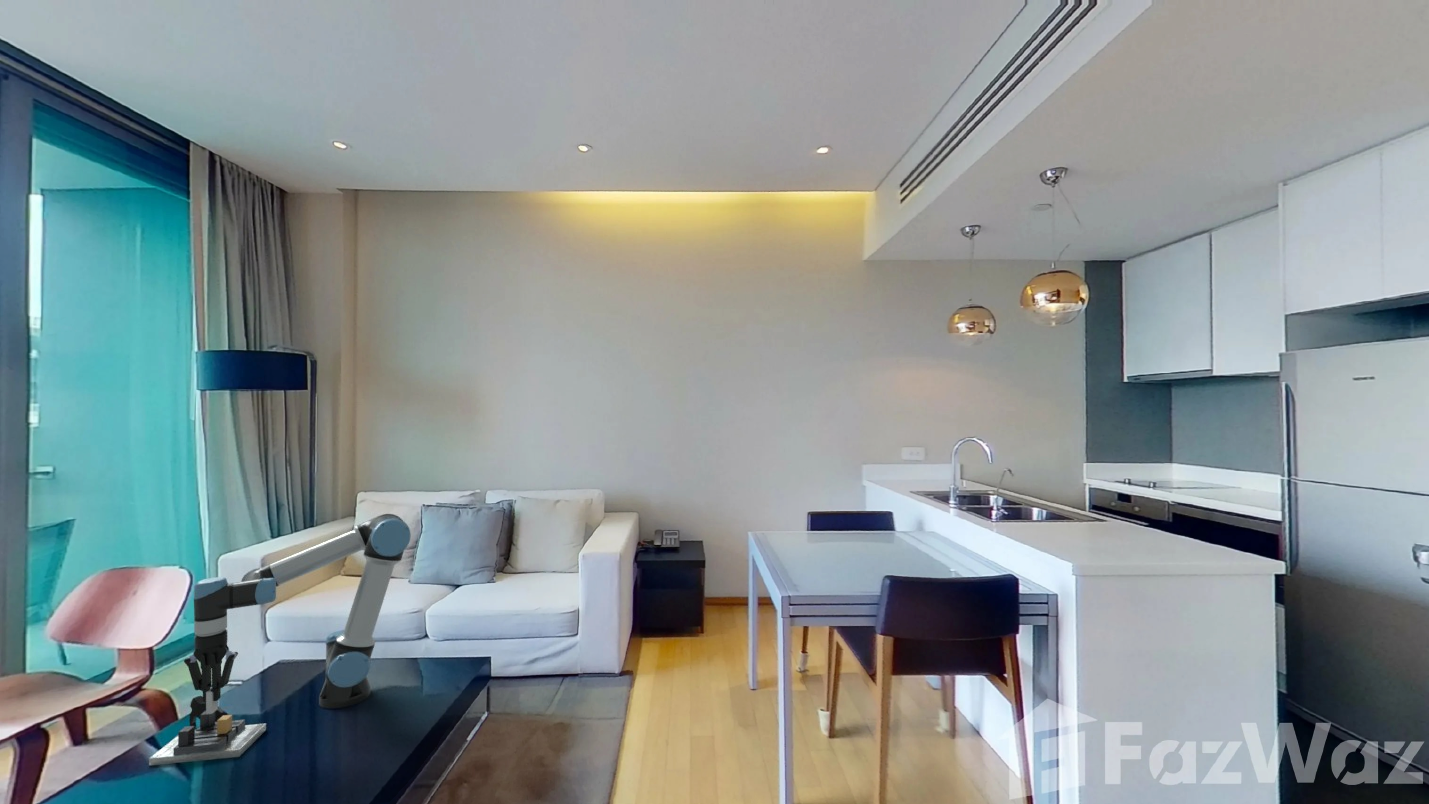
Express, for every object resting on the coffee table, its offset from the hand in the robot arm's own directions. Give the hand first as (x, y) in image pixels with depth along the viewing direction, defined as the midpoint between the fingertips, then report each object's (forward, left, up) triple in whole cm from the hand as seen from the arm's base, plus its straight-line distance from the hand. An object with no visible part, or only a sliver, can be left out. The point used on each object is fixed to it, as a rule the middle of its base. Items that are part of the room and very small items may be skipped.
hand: (211, 711), depth 179 cm
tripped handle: (-3, 0, -6) cm, 7 cm away
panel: (0, 0, -10) cm, 10 cm away
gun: (+6, -12, -11) cm, 17 cm away
